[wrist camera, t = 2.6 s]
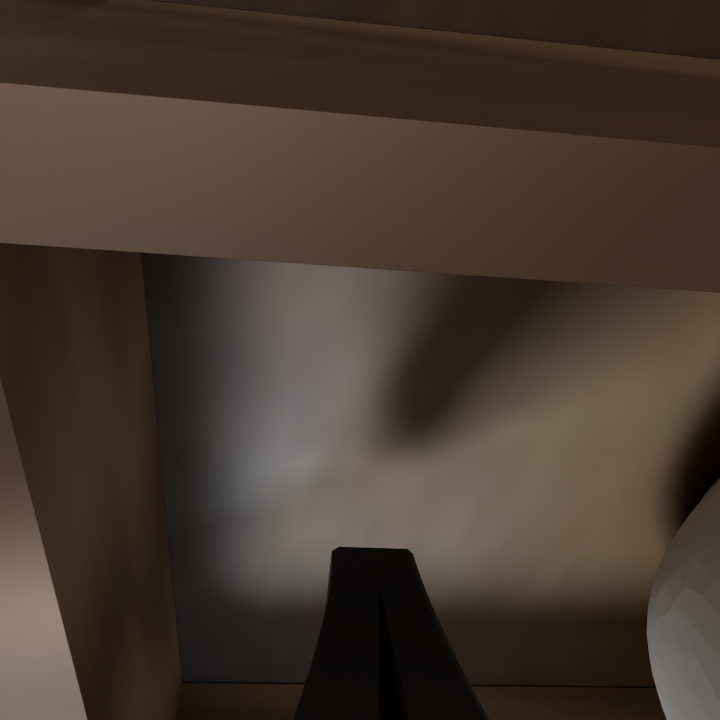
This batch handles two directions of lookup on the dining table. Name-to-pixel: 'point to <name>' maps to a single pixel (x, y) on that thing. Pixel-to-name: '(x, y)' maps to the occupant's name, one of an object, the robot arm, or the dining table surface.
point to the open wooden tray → (278, 244)
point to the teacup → (688, 617)
